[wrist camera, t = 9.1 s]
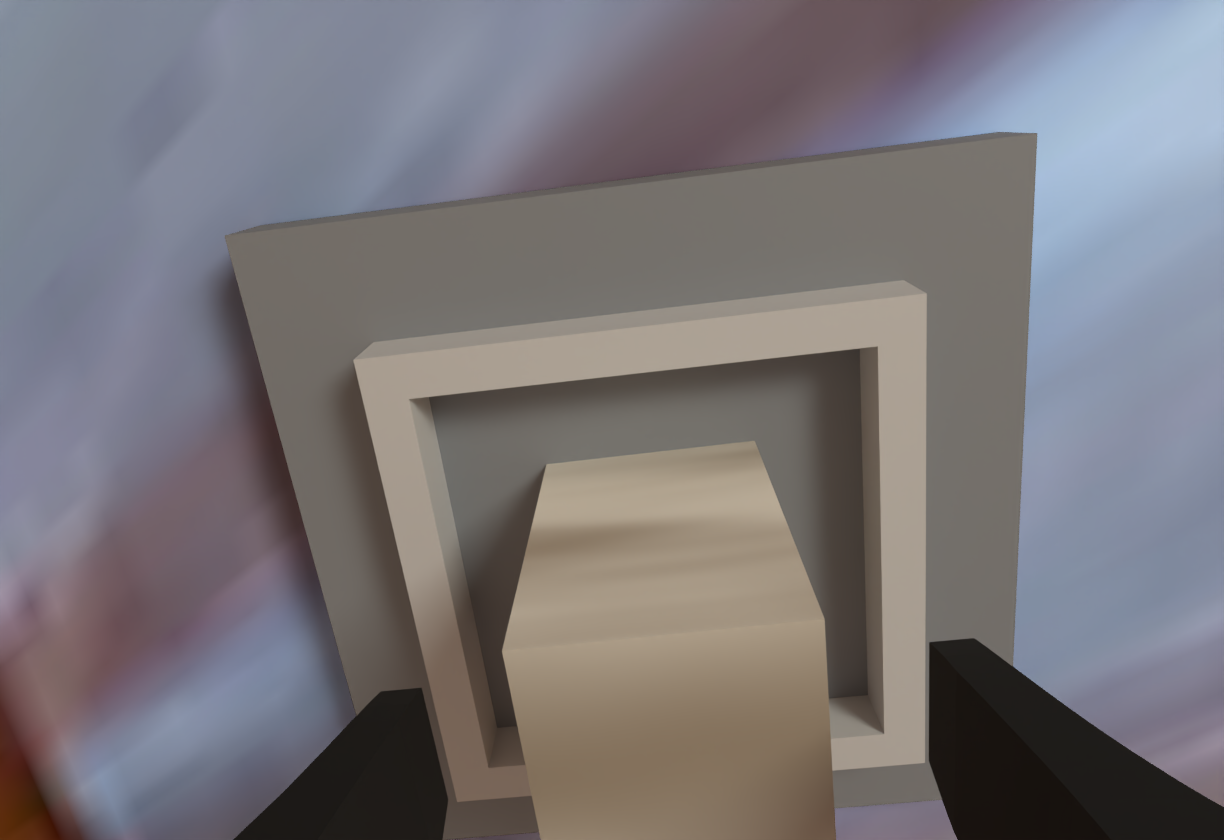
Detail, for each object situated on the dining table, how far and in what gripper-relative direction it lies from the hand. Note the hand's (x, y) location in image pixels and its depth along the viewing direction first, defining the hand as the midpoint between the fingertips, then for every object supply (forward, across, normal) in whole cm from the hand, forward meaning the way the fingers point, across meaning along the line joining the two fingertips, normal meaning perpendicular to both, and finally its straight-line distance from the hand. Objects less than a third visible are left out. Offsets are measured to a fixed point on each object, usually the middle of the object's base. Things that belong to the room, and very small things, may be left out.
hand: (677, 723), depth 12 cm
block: (+5, 0, 0) cm, 5 cm away
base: (+7, 0, 0) cm, 7 cm away
